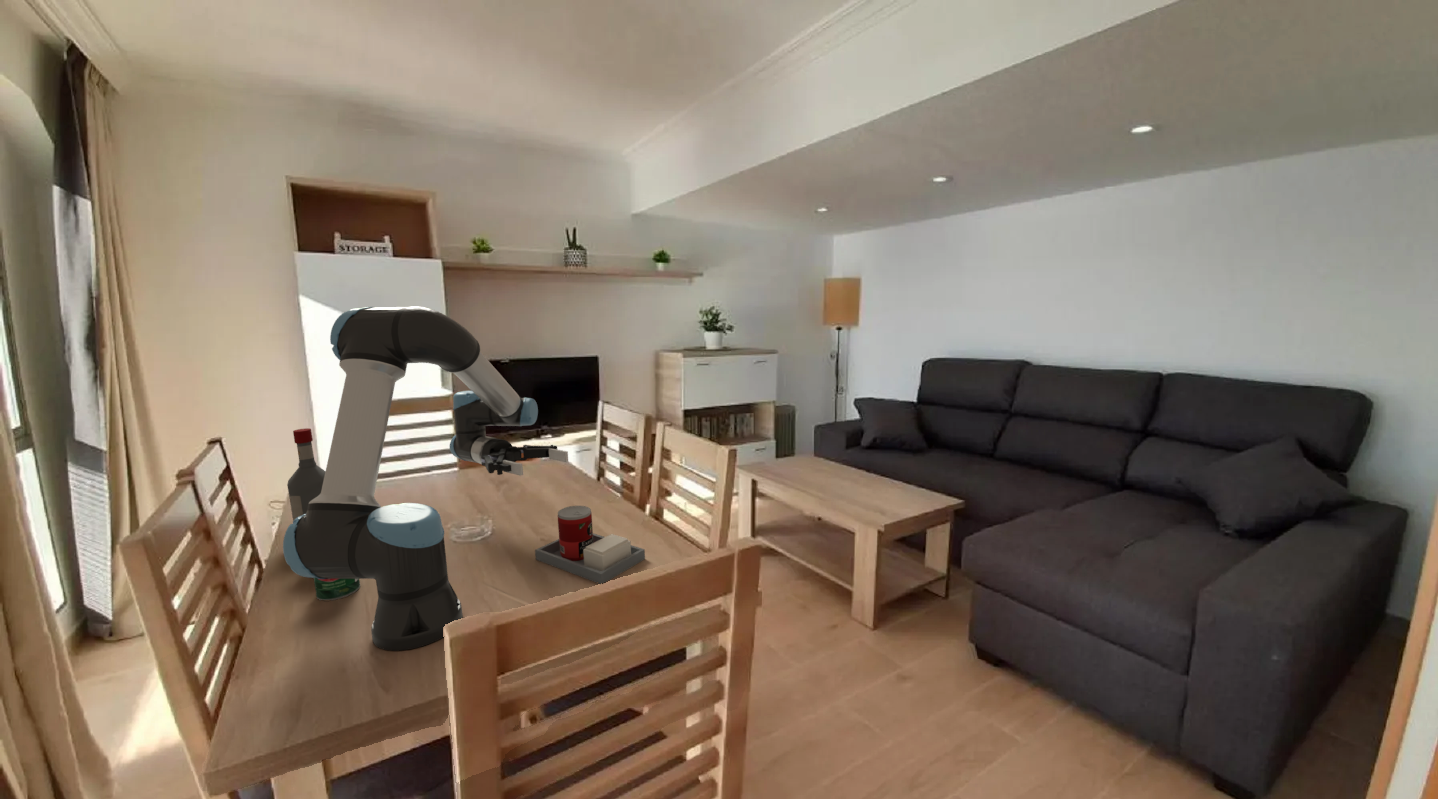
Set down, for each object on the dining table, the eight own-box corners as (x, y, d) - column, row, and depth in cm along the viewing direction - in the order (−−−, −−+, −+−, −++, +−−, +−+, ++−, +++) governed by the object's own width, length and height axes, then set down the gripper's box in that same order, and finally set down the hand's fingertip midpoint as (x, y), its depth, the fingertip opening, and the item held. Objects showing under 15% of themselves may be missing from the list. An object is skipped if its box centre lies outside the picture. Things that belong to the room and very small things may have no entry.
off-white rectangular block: (631, 560, 128) (630, 538, 127) (603, 577, 121) (602, 553, 120) (612, 554, 132) (611, 532, 131) (584, 570, 124) (583, 547, 123)
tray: (645, 561, 129) (644, 549, 129) (601, 586, 118) (600, 574, 117) (580, 540, 141) (580, 529, 141) (536, 561, 130) (535, 549, 129)
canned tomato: (324, 605, 113) (316, 555, 111) (310, 593, 117) (302, 545, 115) (366, 588, 119) (360, 541, 117) (352, 578, 124) (345, 532, 122)
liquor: (299, 552, 137) (280, 436, 132) (296, 540, 144) (278, 430, 139) (342, 541, 143) (326, 429, 138) (337, 531, 150) (321, 424, 145)
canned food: (585, 562, 128) (582, 518, 126) (554, 560, 129) (551, 516, 127) (599, 548, 135) (596, 506, 133) (569, 546, 137) (566, 504, 135)
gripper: (533, 455, 157) (584, 465, 145) (449, 477, 136) (501, 491, 124) (531, 429, 155) (582, 438, 144) (446, 448, 135) (498, 459, 123)
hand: (545, 463), depth 134 cm, fingers open, 13 cm apart
